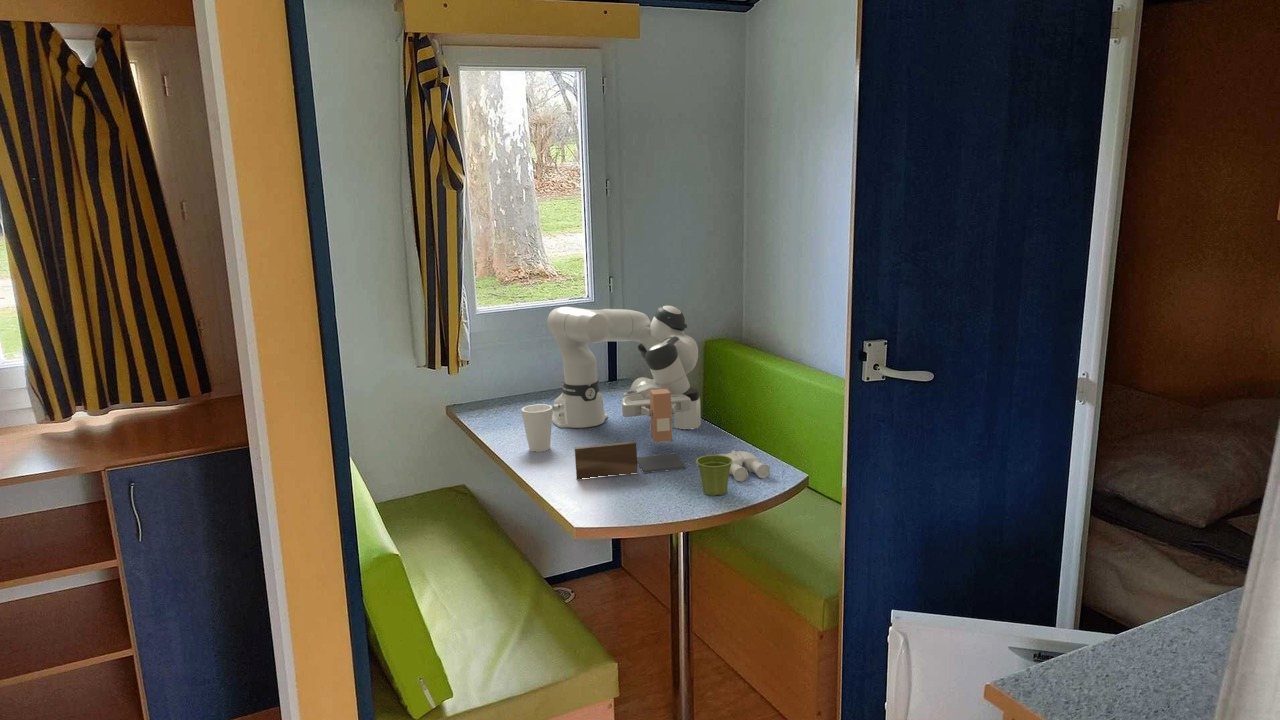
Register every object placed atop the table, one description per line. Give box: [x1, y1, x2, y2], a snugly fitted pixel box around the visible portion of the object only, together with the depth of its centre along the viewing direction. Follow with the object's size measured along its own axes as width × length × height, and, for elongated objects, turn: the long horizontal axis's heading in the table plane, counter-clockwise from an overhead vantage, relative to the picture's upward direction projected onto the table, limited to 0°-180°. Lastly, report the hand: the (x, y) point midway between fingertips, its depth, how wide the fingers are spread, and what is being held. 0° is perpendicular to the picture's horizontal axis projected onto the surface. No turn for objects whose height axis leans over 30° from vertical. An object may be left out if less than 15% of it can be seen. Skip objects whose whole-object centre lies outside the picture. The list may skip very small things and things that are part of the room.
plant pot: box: [696, 454, 733, 496], centre depth 232 cm, size 9×9×9 cm
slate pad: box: [637, 452, 686, 473], centre depth 257 cm, size 12×12×1 cm
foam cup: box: [520, 403, 554, 453], centre depth 275 cm, size 10×9×13 cm
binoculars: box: [718, 450, 771, 483], centre depth 248 cm, size 10×16×5 cm, turn 16°
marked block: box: [650, 389, 673, 443], centre depth 254 cm, size 5×5×14 cm
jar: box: [673, 387, 702, 430], centre depth 291 cm, size 9×8×12 cm
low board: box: [574, 441, 639, 480], centre depth 248 cm, size 2×17×9 cm, turn 100°
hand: (661, 412), depth 253 cm, fingers closed on marked block, 5 cm apart
